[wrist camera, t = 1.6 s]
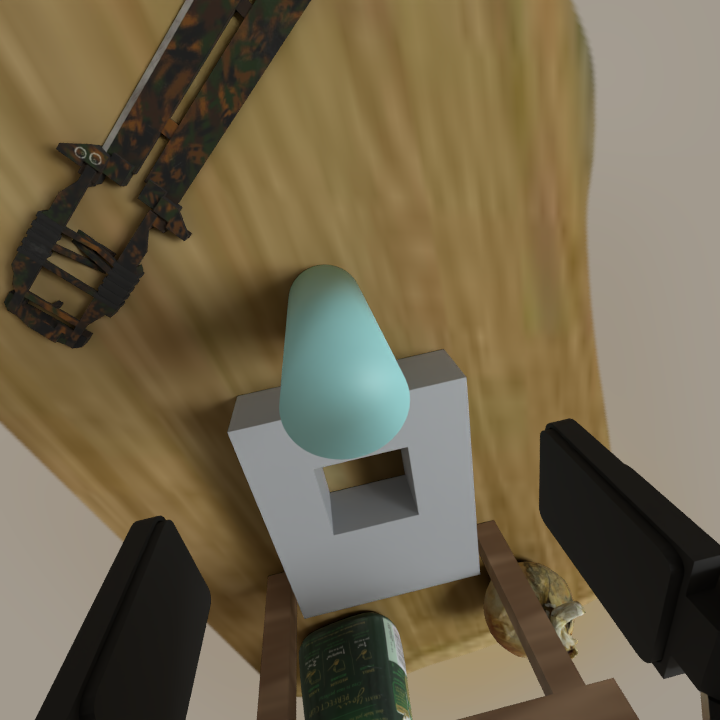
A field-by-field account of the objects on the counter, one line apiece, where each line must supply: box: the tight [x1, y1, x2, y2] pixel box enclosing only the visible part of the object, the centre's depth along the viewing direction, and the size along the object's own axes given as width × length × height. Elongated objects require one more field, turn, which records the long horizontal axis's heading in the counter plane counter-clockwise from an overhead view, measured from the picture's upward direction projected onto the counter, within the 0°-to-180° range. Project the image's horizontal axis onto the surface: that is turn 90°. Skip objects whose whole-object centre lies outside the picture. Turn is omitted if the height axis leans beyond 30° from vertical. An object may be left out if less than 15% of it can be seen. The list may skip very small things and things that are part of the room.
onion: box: [484, 561, 585, 659], centre depth 35 cm, size 8×8×8 cm
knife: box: [4, 0, 311, 348], centre depth 19 cm, size 25×6×1 cm, turn 134°
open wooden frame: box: [257, 521, 639, 720], centre depth 26 cm, size 7×20×18 cm, turn 101°
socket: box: [227, 349, 480, 619], centre depth 28 cm, size 18×14×4 cm
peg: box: [279, 265, 410, 460], centre depth 19 cm, size 4×4×12 cm
